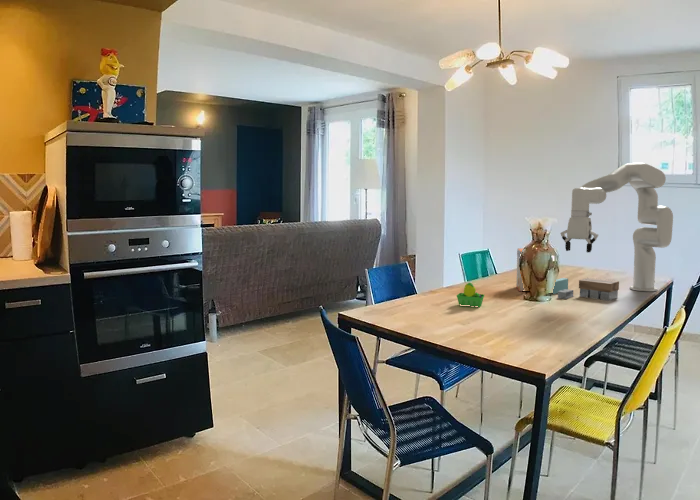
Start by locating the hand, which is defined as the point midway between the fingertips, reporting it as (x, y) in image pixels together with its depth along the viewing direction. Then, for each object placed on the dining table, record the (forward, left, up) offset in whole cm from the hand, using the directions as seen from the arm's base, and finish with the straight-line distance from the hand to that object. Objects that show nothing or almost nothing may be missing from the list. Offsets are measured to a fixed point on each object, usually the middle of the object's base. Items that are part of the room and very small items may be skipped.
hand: (578, 251), depth 254 cm
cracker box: (-5, -31, -23) cm, 39 cm away
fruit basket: (+47, -27, -23) cm, 59 cm away
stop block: (-11, -15, -23) cm, 29 cm away
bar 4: (-11, +10, -23) cm, 27 cm away
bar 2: (-11, 0, -23) cm, 25 cm away
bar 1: (-1, -6, -23) cm, 24 cm away
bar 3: (-11, +5, -23) cm, 26 cm away
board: (-11, +5, -19) cm, 22 cm away
